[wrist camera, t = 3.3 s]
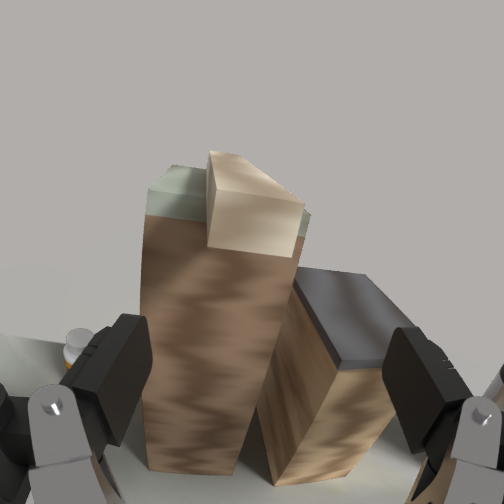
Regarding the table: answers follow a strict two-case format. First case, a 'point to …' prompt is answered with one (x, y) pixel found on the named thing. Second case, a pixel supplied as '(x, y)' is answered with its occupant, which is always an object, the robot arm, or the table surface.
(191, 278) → the walnut stand
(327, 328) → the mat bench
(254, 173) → the slat
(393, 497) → the table surface
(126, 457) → the table surface
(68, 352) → the supplement bottle
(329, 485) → the table surface
